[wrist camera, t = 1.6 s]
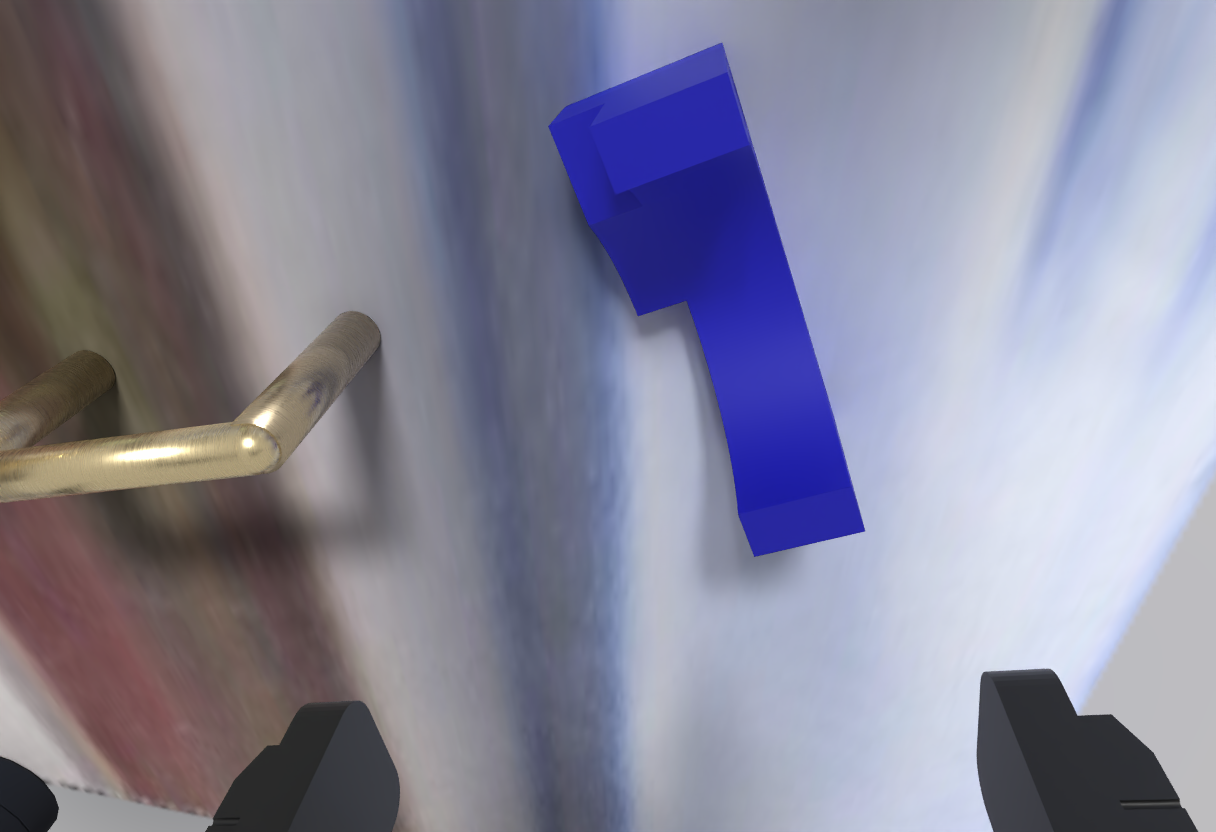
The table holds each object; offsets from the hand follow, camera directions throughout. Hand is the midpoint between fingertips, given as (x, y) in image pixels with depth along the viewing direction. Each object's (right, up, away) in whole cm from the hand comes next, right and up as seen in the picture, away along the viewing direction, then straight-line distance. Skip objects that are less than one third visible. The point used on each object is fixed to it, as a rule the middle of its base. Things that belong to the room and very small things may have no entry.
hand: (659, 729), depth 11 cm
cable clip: (+3, +8, +14) cm, 17 cm away
